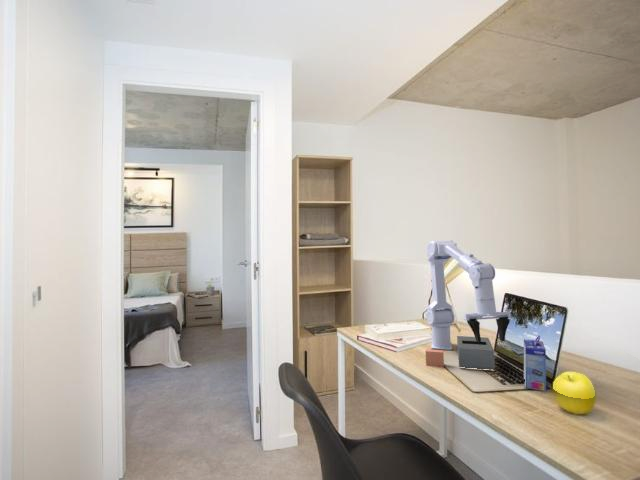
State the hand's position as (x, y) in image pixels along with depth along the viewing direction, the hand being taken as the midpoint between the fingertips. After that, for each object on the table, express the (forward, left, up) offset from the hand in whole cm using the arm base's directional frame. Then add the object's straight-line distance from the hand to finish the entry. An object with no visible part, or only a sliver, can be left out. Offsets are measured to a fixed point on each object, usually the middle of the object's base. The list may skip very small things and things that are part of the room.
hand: (490, 341), depth 115 cm
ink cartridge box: (+7, +11, -11) cm, 17 cm away
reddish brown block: (-3, -18, -10) cm, 21 cm away
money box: (-9, -4, -10) cm, 15 cm away
